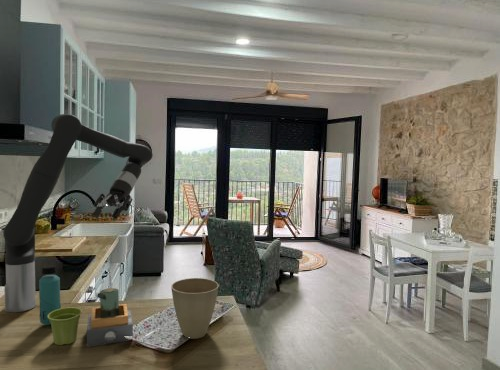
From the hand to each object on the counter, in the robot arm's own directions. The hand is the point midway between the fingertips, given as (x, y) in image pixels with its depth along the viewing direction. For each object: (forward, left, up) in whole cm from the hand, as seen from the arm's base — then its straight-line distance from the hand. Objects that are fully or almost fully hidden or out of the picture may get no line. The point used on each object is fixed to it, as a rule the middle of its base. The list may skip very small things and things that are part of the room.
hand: (104, 217), depth 144 cm
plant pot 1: (-11, -27, -34) cm, 45 cm away
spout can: (+1, -28, -29) cm, 40 cm away
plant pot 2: (+27, -35, -34) cm, 56 cm away
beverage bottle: (-17, -13, -34) cm, 40 cm away
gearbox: (+1, -27, -34) cm, 43 cm away
